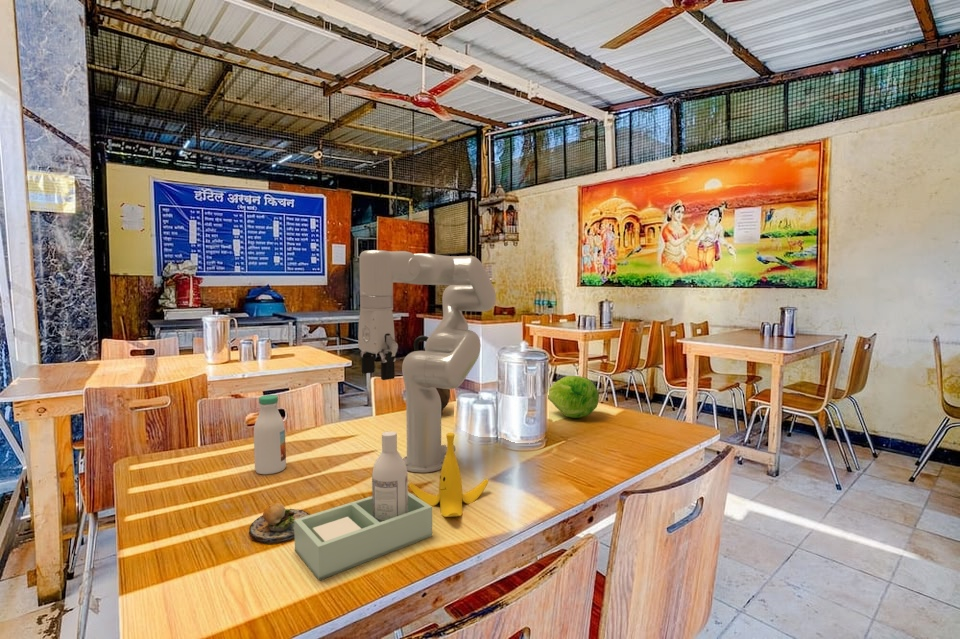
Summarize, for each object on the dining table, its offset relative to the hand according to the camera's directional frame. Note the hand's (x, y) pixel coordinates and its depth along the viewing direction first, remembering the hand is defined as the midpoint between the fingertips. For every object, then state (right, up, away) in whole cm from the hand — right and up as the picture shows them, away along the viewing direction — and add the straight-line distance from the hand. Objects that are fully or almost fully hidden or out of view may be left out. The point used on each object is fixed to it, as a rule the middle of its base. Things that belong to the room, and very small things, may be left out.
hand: (377, 375), depth 115 cm
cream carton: (-2, -30, -24) cm, 38 cm away
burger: (-17, -30, -15) cm, 38 cm away
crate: (+2, -30, -21) cm, 36 cm away
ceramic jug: (+4, -23, +71) cm, 75 cm away
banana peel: (+19, -29, -3) cm, 35 cm away
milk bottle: (-32, -27, +16) cm, 45 cm away
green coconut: (+59, -23, +67) cm, 92 cm away
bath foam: (+6, -29, -17) cm, 34 cm away
